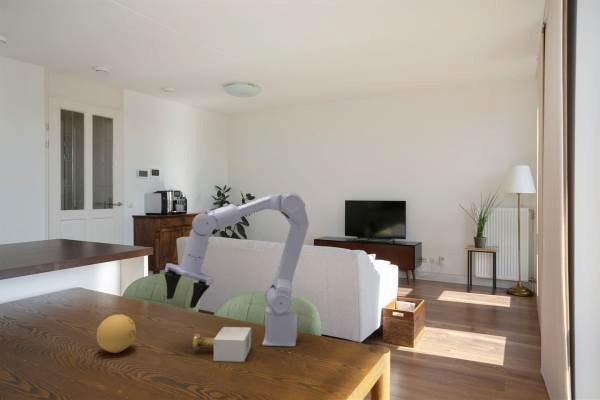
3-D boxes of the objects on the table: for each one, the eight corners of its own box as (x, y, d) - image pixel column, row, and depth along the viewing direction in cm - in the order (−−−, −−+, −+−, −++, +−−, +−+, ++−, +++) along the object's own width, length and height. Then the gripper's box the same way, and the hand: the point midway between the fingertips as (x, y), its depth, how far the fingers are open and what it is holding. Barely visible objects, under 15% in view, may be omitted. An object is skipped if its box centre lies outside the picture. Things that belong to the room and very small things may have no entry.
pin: (241, 347, 112) (241, 333, 112) (238, 353, 108) (238, 338, 108) (196, 346, 113) (196, 331, 113) (192, 351, 109) (192, 336, 109)
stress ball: (101, 363, 106) (131, 339, 106) (81, 333, 107) (111, 308, 107) (122, 355, 115) (149, 332, 116) (103, 327, 117) (130, 304, 117)
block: (250, 347, 115) (251, 327, 115) (244, 361, 105) (244, 340, 105) (223, 346, 116) (223, 326, 116) (213, 360, 106) (213, 339, 106)
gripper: (164, 248, 112) (150, 296, 111) (209, 263, 108) (195, 313, 107) (178, 248, 119) (165, 293, 118) (221, 262, 114) (208, 309, 114)
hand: (180, 302), depth 113 cm, fingers open, 7 cm apart
